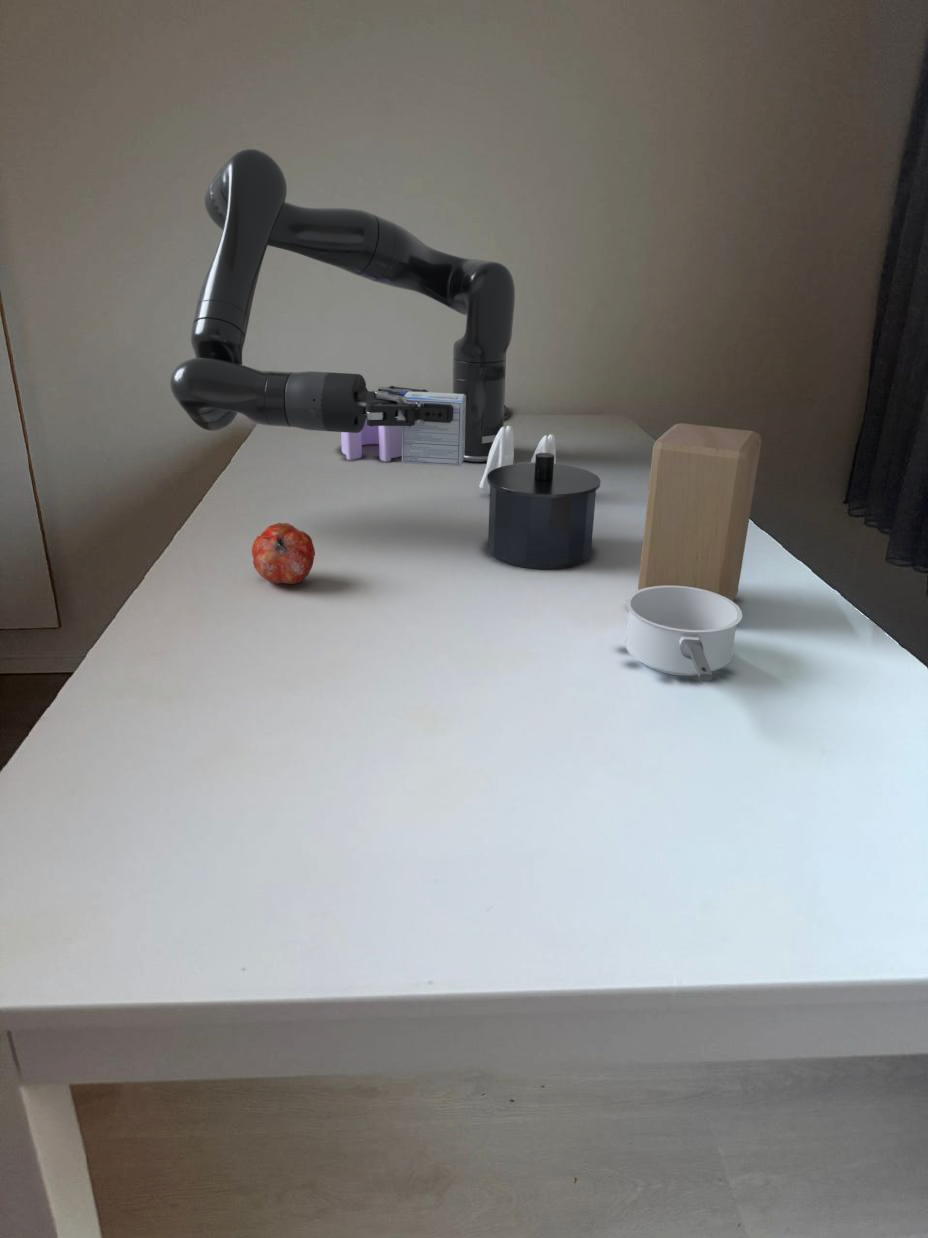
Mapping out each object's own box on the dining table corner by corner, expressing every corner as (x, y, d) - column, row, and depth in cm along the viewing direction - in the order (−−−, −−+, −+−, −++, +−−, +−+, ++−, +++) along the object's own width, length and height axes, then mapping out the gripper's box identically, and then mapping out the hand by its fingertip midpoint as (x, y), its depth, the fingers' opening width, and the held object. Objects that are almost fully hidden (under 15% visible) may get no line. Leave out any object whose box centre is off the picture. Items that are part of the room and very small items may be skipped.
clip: (356, 433, 179) (355, 397, 176) (419, 435, 178) (419, 400, 175) (333, 459, 161) (331, 420, 158) (402, 462, 160) (402, 423, 157)
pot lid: (492, 468, 125) (493, 438, 123) (599, 473, 123) (602, 444, 121) (480, 499, 111) (481, 466, 110) (600, 506, 110) (602, 473, 108)
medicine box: (464, 458, 121) (467, 393, 118) (461, 467, 117) (463, 400, 114) (406, 455, 122) (407, 390, 118) (401, 464, 118) (401, 397, 114)
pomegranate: (258, 587, 113) (231, 565, 103) (274, 533, 115) (249, 506, 105) (315, 599, 112) (293, 578, 102) (330, 544, 114) (310, 518, 104)
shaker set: (479, 499, 141) (481, 429, 136) (477, 491, 145) (479, 422, 140) (555, 500, 142) (560, 429, 137) (552, 492, 145) (556, 423, 141)
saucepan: (633, 725, 81) (639, 670, 78) (616, 629, 99) (621, 582, 97) (763, 733, 80) (774, 678, 78) (723, 635, 98) (730, 587, 96)
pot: (493, 530, 128) (496, 464, 124) (590, 536, 126) (596, 470, 122) (483, 565, 116) (485, 493, 112) (590, 572, 114) (596, 500, 110)
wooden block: (737, 597, 108) (764, 430, 99) (722, 629, 99) (749, 450, 91) (654, 582, 111) (673, 420, 103) (633, 612, 103) (651, 438, 95)
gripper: (309, 382, 110) (448, 390, 108) (339, 363, 123) (464, 370, 121) (311, 443, 113) (446, 452, 111) (341, 418, 126) (462, 426, 124)
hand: (455, 409), depth 116 cm, fingers closed on medicine box, 4 cm apart
